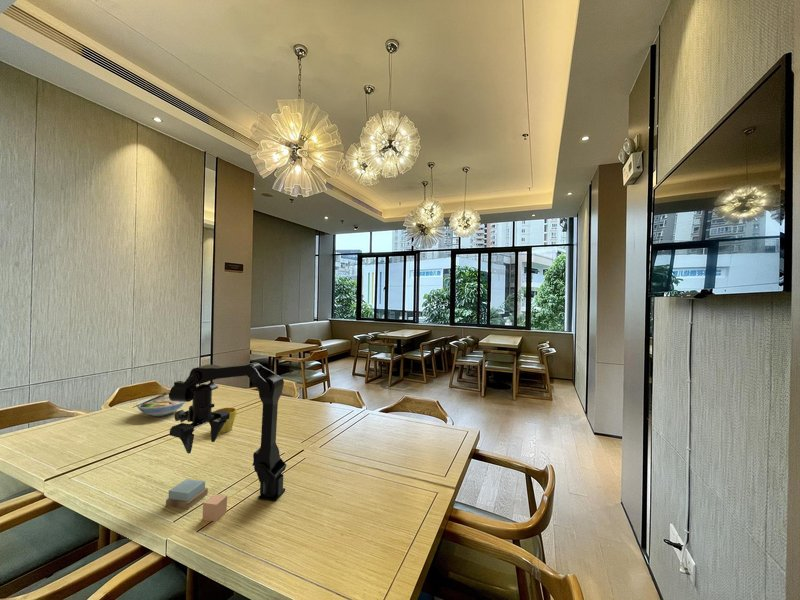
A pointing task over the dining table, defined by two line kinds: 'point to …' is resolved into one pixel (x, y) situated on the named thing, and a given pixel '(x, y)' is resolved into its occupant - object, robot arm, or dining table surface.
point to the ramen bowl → (159, 405)
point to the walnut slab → (187, 503)
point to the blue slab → (186, 490)
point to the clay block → (214, 507)
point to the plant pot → (230, 421)
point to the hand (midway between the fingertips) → (201, 447)
